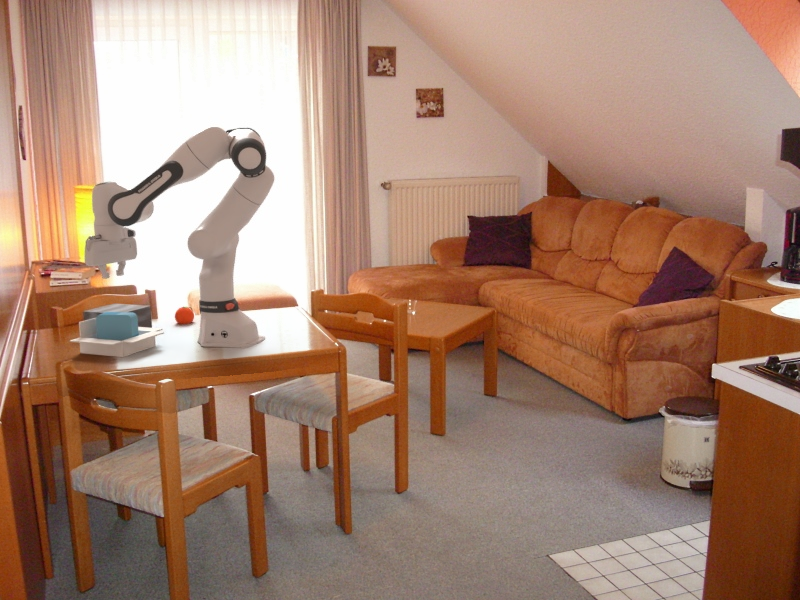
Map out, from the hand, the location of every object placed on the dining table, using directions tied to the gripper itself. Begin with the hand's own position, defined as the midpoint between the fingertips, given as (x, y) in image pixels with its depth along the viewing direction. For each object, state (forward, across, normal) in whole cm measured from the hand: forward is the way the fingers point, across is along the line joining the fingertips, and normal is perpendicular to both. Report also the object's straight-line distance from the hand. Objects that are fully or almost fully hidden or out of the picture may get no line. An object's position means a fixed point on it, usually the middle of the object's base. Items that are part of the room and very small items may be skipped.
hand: (113, 276), depth 252 cm
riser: (+24, +20, +17) cm, 35 cm away
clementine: (+24, +40, +3) cm, 46 cm away
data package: (+24, 0, 0) cm, 24 cm away
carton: (+24, 0, 0) cm, 24 cm away
